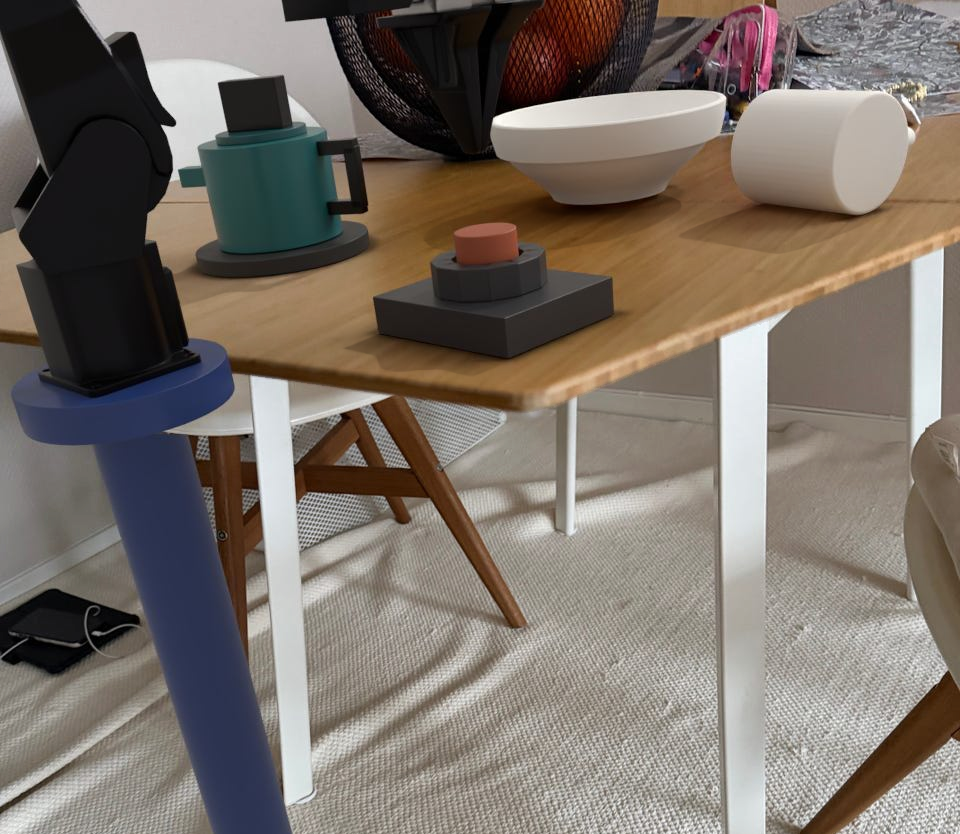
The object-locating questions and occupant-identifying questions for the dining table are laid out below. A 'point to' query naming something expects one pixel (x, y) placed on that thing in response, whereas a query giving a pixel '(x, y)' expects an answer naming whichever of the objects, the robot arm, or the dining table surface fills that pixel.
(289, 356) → the dining table surface
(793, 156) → the mug
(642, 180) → the bowl
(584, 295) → the switch block
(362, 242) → the kettle base
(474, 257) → the switch
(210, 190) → the kettle
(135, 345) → the robot arm
